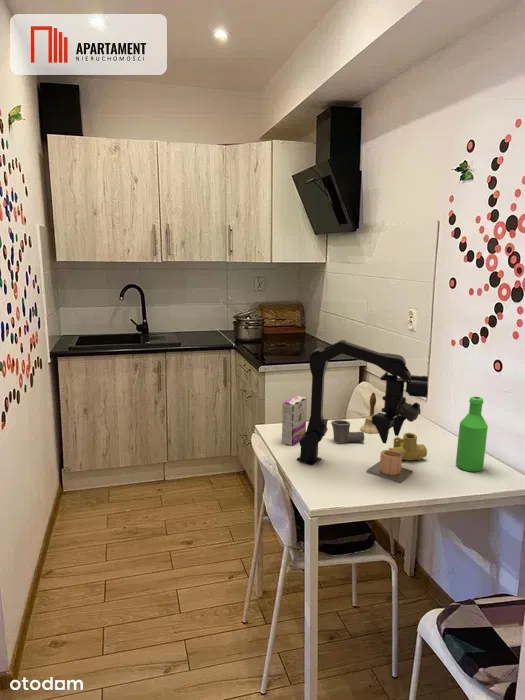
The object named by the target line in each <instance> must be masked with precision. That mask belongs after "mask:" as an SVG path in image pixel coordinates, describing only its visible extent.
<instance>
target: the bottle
mask: <svg viewBox="0 0 525 700" xmlns="http://www.w3.org/2000/svg"><path fill="white" fill-rule="evenodd" d="M468 402H469V407H468V409H469V410H468V413H467V414H466V415H465V416H464V418H462V419H461V421H460V422H459V428H458V429H459V430H458V437H457V447H456V448H457V449H456V458H455V464H456V466H457V467H458V469H459V468H460V469H461V470H463V471H467V472H470V471H476V472H479V471H481V470H483V469H484V462H485V457H486V456H485V455H486V445H487V438H488V428H489V426H488V424H487V423H486V421H485V419H484V417H483V416H482V412H483V404H484V399H483V398H482V397H479V396H471V397H469V400H468Z"/></svg>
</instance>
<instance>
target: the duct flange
mask: <svg viewBox="0 0 525 700" xmlns="http://www.w3.org/2000/svg"><path fill="white" fill-rule="evenodd" d="M366 473H367V474H370V475H374V476H377V477H379V478H384V479H386V480H389V481H393V482H396V483H399V484H401V483H402V482H404V481H405V480H406V479H407V478H409V477H410V476H411V475H412V474H413V473H414V470H413V469H408V468H404V467H402V466H401V472H400V473H399V474H395V475H390V474H386V473H382V472H381V470H380V460H379V461H378V462H377V463H375V464H373V465H372V466H371V467H369V468H367V469H366ZM408 476H409V477H408Z"/></svg>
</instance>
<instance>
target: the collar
mask: <svg viewBox="0 0 525 700" xmlns="http://www.w3.org/2000/svg"><path fill="white" fill-rule="evenodd" d="M379 459H380V460H379V461H380V470H381V472H382V473H386V474H390V475H395V474H399V473H400V472H401V467H402V454H401V453H400V452H398V451H395V450H389V449H383V450H381V451H380V458H379Z"/></svg>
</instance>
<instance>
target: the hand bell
mask: <svg viewBox="0 0 525 700" xmlns="http://www.w3.org/2000/svg"><path fill="white" fill-rule="evenodd" d="M376 404H377V396H376V392H371V395H370V397H369V407H370V409H369V410H370V411H369V415H368V416H365V420H364V423H363V425H362V426H361V427H360V428H359V429H360V432H363V433H365V434H379V433H378V430H377V428H376V426H375V425H373V423H371V421H372V417H373V416H374V415H375V406H376Z"/></svg>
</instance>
